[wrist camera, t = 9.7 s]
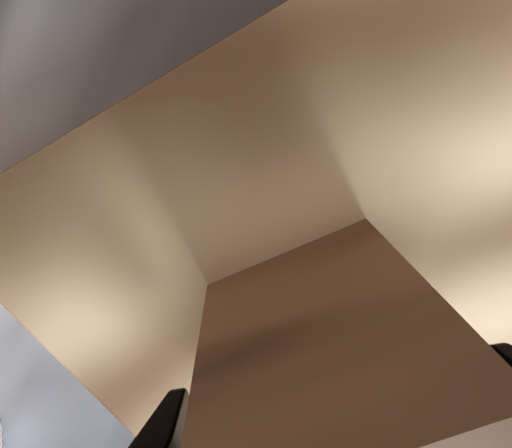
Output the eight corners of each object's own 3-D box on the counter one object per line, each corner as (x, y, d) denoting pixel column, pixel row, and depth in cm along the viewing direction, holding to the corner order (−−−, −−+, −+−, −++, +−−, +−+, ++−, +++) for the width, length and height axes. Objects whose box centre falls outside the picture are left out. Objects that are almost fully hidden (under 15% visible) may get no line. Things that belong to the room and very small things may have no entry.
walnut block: (409, 344, 11) (576, 595, 6) (272, 394, 12) (302, 667, 6) (366, 218, 9) (548, 405, 4) (207, 284, 10) (167, 530, 4)
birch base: (553, 342, 14) (601, 381, 12) (224, 473, 16) (222, 523, 14) (456, -89, 9) (517, -139, 7) (-26, 199, 11) (-81, 222, 9)
